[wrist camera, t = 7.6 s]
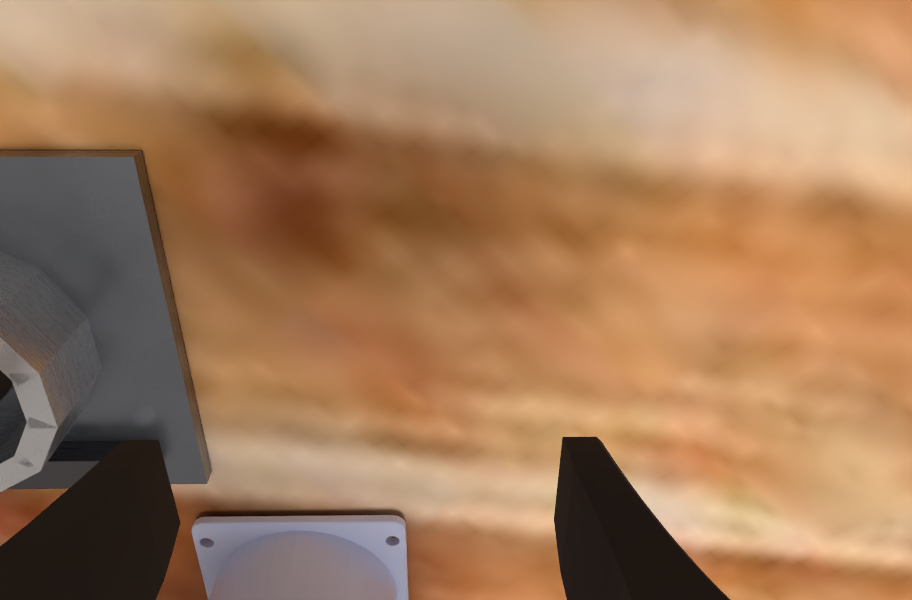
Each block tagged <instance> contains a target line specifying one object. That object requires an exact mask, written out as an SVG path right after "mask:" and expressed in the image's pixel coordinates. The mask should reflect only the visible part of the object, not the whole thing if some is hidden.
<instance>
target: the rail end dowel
mask: <svg viewBox="0 0 912 600" xmlns="http://www.w3.org/2000/svg"><path fill="white" fill-rule="evenodd" d="M13 389H14V386H13V383H12V381H11V379H9V378H8V377H7V376H6V375H5V374H4V373H3V372H2V371H1V370H0V401H1V400H2V399H3V398H4V397H5V396H7V395H8V394H9V393H10V392H11V391H12V390H13Z"/></svg>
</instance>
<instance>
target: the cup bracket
mask: <svg viewBox="0 0 912 600" xmlns="http://www.w3.org/2000/svg"><path fill="white" fill-rule="evenodd" d="M0 370H1V371H2V372H3V373H4V374H5V375H6V376H7V377H8V378H9V379H11V381H12V383H13V386H14V389H13V390H12V391H11V392H10V393H9V394H8V395H7V396H5V397H4V398H3V399H2V400H1V401H0V492H2V491H3V490H5V489H66V488H70V487H72V486H73V485H74V484H75V483H76V482H77V481H78V480H79V479H81V478H82V477H83V476H84V475H85V474H86V473H87V472H88V471H90V470H91V469H92V468H93V467H94V466H95V465H96V464H97V463H99V462H100V461H101V460H102V459H103V458H104V457H105V456H106V455H108V454H109V453H110V452H111V451H112V450H113V449H114V448H116V447H117V446H118V445H119V444H120V443H122V442H123V441H124V440H159V442H160V446H161V450H162V454H163V458H164V462H165V466H166V470H167V473H168V477H169V481H170V484H207V482H208V479H209V477H210V474H211V467H210V463H209V458H208V453H207V449H206V444H205V439H204V435H203V430H202V426H201V421H200V416H199V412H198V407H197V403H196V398H195V393H194V389H193V384H192V380H191V375H190V370H189V366H188V361H187V357H186V352H185V347H184V343H183V338H182V334H181V329H180V324H179V320H178V315H177V311H176V306H175V301H174V297H173V292H172V288H171V283H170V278H169V274H168V269H167V264H166V260H165V255H164V251H163V246H162V241H161V237H160V232H159V228H158V223H157V218H156V214H155V209H154V205H153V200H152V195H151V191H150V186H149V182H148V177H147V172H146V168H145V163H144V159H143V154H142V150H0Z"/></svg>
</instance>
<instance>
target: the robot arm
mask: <svg viewBox="0 0 912 600" xmlns="http://www.w3.org/2000/svg"><path fill="white" fill-rule="evenodd" d="M554 523H555V531H556V540H557V548H558V556H559V563H560V571H561V576H562V580H563V585H564V589H565V593H566V597H567V600H730V599H729V598H728V597H727V596H726V595H725V594H724V593H723V592H722V591H721V590H720V589H719V588H718V587H717V586H716V585H715V584H714V583H713V582H712V581H711V580H710V579H709V578H708V577H707V576H706V575H705V574H704V572H703V571H702V570H701V569H700V568H699V567H698V566H697V565H696V564H695V563H694V561H693V560H692V559H691V558H690V557H689V556H688V555H687V554H686V552H685V551H684V550H683V549H682V548H681V547H680V546H679V545H678V543H677V542H676V541H675V540H674V539H673V537H672V536H671V535H670V534H669V533H668V532H667V530H666V529H665V528H664V527H663V525H662V524H661V523H660V522H659V520H658V519H657V518H656V517H655V515H654V514H653V513H652V512H651V510H650V509H649V508H648V506H647V505H646V504H645V503H644V501H643V500H642V499H641V497H640V496H639V495H638V493H637V492H636V491H635V489H634V488H633V487H632V485H631V484H630V482H629V481H628V480H627V478H626V477H625V476H624V474H623V473H622V471H621V470H620V468H619V467H618V466H617V464H616V463H615V461H614V460H613V458H612V457H611V455H610V454H609V452H608V451H607V449H606V448H605V446H604V445H603V443H602V442H601V441H600V440H599V439H598V438H597V437H563V439H562V449H561V458H560V468H559V477H558V487H557V496H556V506H555V515H554ZM179 526H180V520H179V516H178V512H177V508H176V504H175V500H174V497H173V493H172V489H171V485H170V481H169V477H168V473H167V470H166V466H165V462H164V458H163V454H162V450H161V446H160V442H159V440H124V441H123V442H122V443H120V444H119V445H118V446H117V447H116V448H114V449H113V450H112V451H111V452H110V453H109V454H108V455H106V456H105V457H104V458H103V459H102V460H101V461H100V462H99V463H97V464H96V465H95V466H94V467H93V468H92V469H91V470H90V471H88V472H87V473H86V474H85V475H84V476H83V477H82V478H81V479H79V480H78V481H77V482H76V483H75V484H74V485H73V486H72V487H70V488H69V489H68V490H67V491H66V492H65V493H64V494H62V495H61V496H60V497H59V498H58V499H57V500H55V501H54V502H53V503H52V504H51V505H50V506H49V507H47V508H46V509H45V510H44V511H43V512H42V513H40V514H39V515H38V516H37V517H36V518H35V519H34V520H32V521H31V522H30V523H29V524H28V525H26V526H25V527H24V528H23V529H22V530H20V531H19V532H18V533H17V534H15V535H14V536H13V537H12V538H10V539H9V540H8V541H7V542H5V543H4V544H3V545H2V546H0V600H156V598H157V595H158V593H159V590H160V588H161V586H162V583H163V581H164V578H165V575H166V572H167V569H168V565H169V562H170V558H171V555H172V552H173V548H174V544H175V540H176V537H177V533H178V529H179ZM191 533H192V537H193V541H194V545H195V549H196V553H197V557H198V561H199V565H200V569H201V573H202V577H203V581H204V585H205V589H206V593H207V597H208V600H409V595H408V569H407V543H406V524H405V521H404V520H403V519H402V518H401V517H399V516H396V515H338V516H230V517H200V518H198V519H196V521H195V522H194V524H193V526H192V529H191ZM390 536H395V538H392V537H390ZM206 538H209V539H206ZM210 539H211V540H210Z"/></svg>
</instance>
